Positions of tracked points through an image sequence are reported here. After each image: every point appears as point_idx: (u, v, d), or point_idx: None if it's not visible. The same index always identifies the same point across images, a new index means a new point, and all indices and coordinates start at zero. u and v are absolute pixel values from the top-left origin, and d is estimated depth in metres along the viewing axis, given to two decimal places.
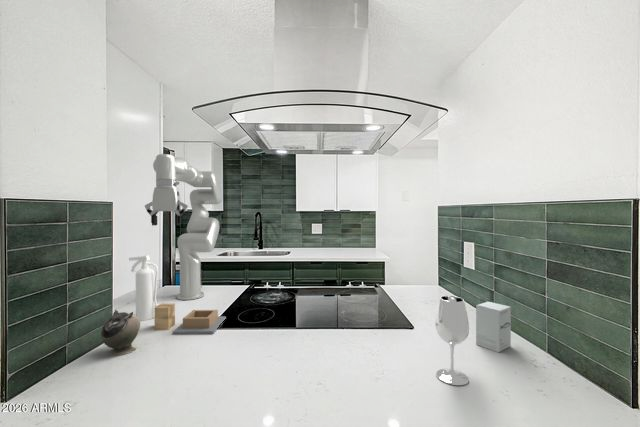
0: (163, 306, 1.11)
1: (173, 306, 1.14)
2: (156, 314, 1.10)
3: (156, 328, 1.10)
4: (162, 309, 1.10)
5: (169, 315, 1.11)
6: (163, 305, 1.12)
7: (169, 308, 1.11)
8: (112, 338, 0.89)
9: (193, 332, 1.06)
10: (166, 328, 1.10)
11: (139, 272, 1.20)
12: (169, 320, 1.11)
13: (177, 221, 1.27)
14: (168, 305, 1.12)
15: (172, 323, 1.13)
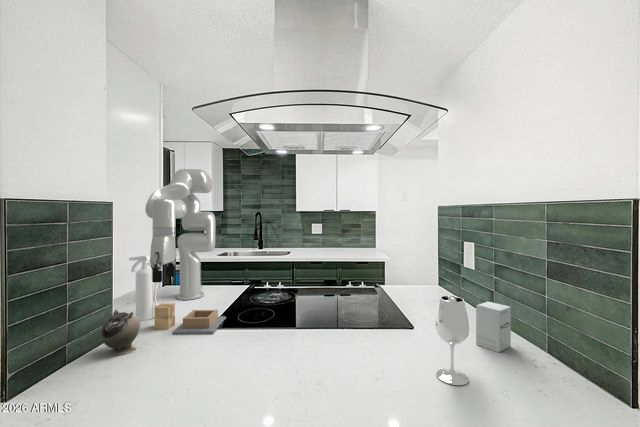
0: (163, 306, 1.11)
1: (173, 306, 1.14)
2: (156, 314, 1.10)
3: (156, 328, 1.10)
4: (162, 309, 1.10)
5: (169, 315, 1.11)
6: (163, 305, 1.12)
7: (169, 308, 1.11)
8: (112, 338, 0.89)
9: (193, 332, 1.06)
10: (166, 328, 1.10)
11: (139, 272, 1.20)
12: (169, 320, 1.11)
13: None
14: (168, 305, 1.12)
15: (172, 323, 1.13)
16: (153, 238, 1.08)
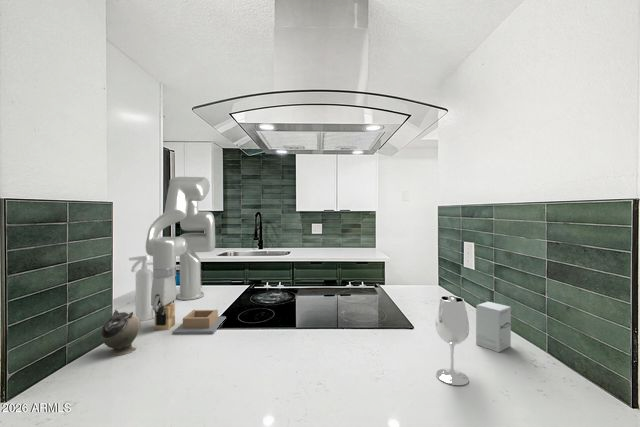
0: None
1: (173, 306, 1.14)
2: None
3: (156, 328, 1.10)
4: None
5: (169, 315, 1.11)
6: None
7: (169, 308, 1.11)
8: (112, 338, 0.89)
9: (193, 332, 1.06)
10: (166, 328, 1.10)
11: (139, 272, 1.20)
12: (169, 320, 1.11)
13: None
14: (168, 305, 1.12)
15: (172, 323, 1.13)
16: (153, 280, 1.08)
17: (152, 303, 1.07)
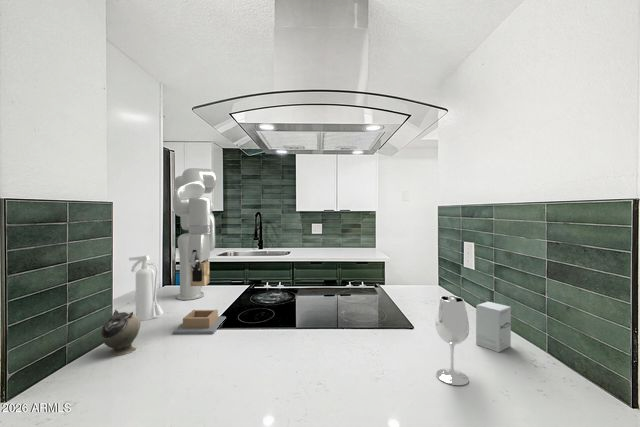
0: None
1: (208, 264, 1.14)
2: None
3: (192, 284, 1.11)
4: None
5: (205, 272, 1.12)
6: None
7: (205, 265, 1.11)
8: (112, 338, 0.89)
9: (193, 332, 1.06)
10: (202, 284, 1.11)
11: (139, 272, 1.20)
12: (205, 277, 1.11)
13: None
14: (203, 262, 1.13)
15: (207, 281, 1.14)
16: (190, 236, 1.09)
17: (189, 258, 1.08)
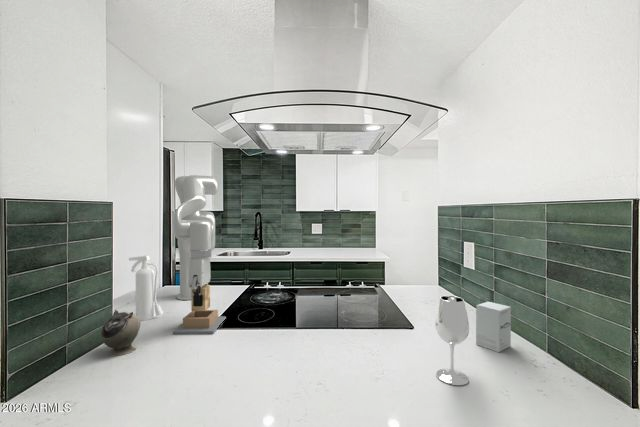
0: None
1: (209, 288, 1.14)
2: (192, 295, 1.10)
3: (193, 309, 1.10)
4: None
5: (206, 297, 1.12)
6: None
7: (206, 289, 1.11)
8: (112, 338, 0.89)
9: (193, 332, 1.06)
10: (203, 309, 1.11)
11: (139, 272, 1.20)
12: (206, 301, 1.11)
13: None
14: (204, 286, 1.13)
15: (208, 304, 1.14)
16: (191, 261, 1.09)
17: (190, 284, 1.08)
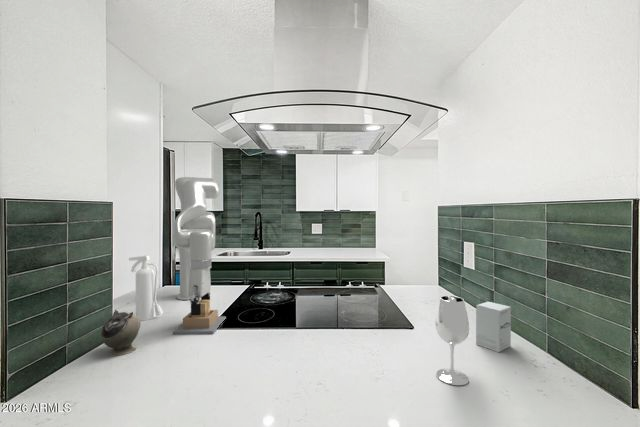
0: (200, 302, 1.12)
1: (209, 302, 1.15)
2: None
3: None
4: None
5: (206, 312, 1.12)
6: None
7: (206, 304, 1.12)
8: (112, 338, 0.89)
9: (193, 332, 1.06)
10: None
11: (139, 272, 1.20)
12: (206, 316, 1.12)
13: None
14: (204, 301, 1.13)
15: None
16: (191, 271, 1.09)
17: (190, 294, 1.08)
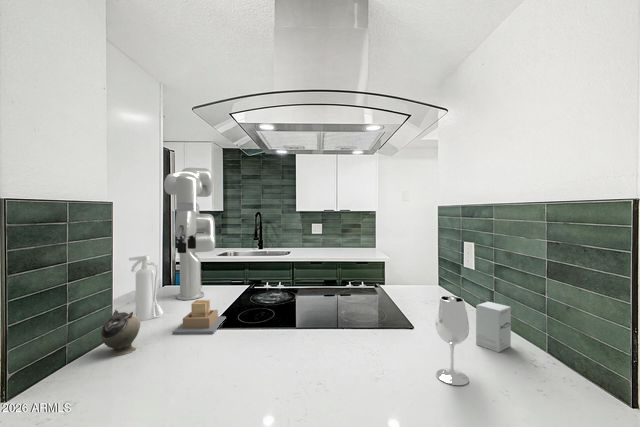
0: (200, 302, 1.12)
1: (209, 302, 1.15)
2: (193, 311, 1.11)
3: None
4: (199, 306, 1.11)
5: (206, 312, 1.12)
6: (199, 301, 1.13)
7: (206, 304, 1.12)
8: (112, 338, 0.89)
9: (193, 332, 1.06)
10: None
11: (139, 272, 1.20)
12: (206, 316, 1.12)
13: None
14: (204, 301, 1.13)
15: None
16: (177, 212, 1.17)
17: None
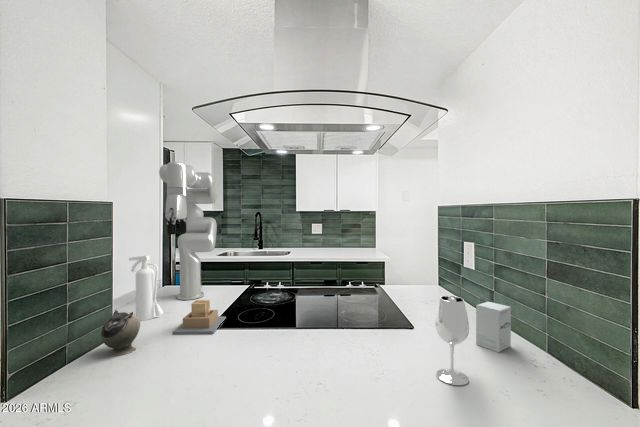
0: (200, 302, 1.12)
1: (209, 302, 1.15)
2: (193, 311, 1.11)
3: None
4: (199, 306, 1.11)
5: (206, 312, 1.12)
6: (199, 301, 1.13)
7: (206, 304, 1.12)
8: (112, 338, 0.89)
9: (193, 332, 1.06)
10: None
11: (139, 272, 1.20)
12: (206, 316, 1.12)
13: None
14: (204, 301, 1.13)
15: None
16: (168, 196, 1.23)
17: None
